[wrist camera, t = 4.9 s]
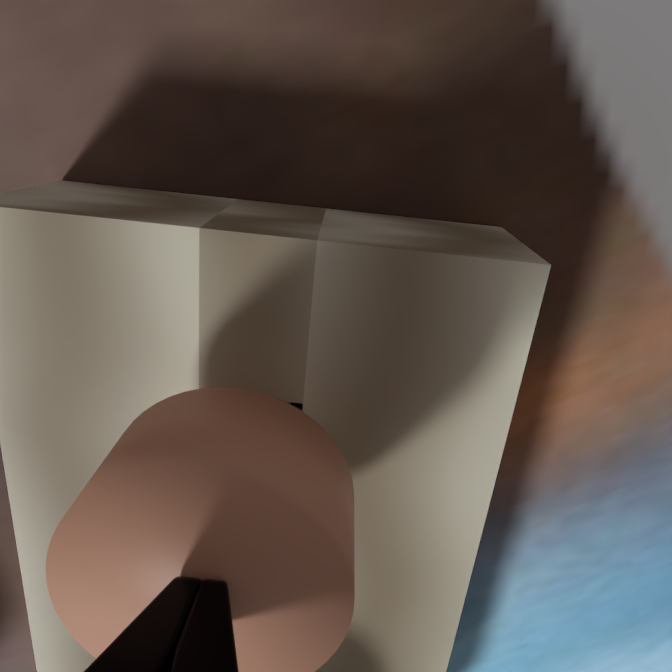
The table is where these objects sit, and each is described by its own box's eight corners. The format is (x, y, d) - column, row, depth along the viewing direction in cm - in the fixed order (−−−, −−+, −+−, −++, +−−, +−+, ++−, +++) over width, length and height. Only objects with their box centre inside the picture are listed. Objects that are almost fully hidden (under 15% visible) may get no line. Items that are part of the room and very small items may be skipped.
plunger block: (501, 227, 15) (551, 265, 11) (397, 710, 22) (405, 828, 19) (60, 180, 15) (-38, 203, 11) (106, 682, 22) (56, 795, 19)
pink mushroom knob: (364, 327, 14) (373, 486, 8) (343, 488, 16) (338, 712, 10) (166, 306, 14) (28, 451, 8) (170, 471, 16) (60, 685, 10)
